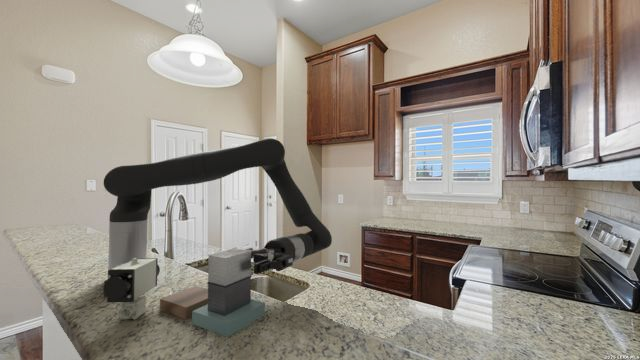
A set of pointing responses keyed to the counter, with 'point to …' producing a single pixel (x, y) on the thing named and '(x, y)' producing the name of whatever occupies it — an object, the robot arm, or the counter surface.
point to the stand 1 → (184, 302)
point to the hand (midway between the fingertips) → (240, 266)
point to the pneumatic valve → (131, 285)
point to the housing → (229, 281)
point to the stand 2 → (228, 318)
